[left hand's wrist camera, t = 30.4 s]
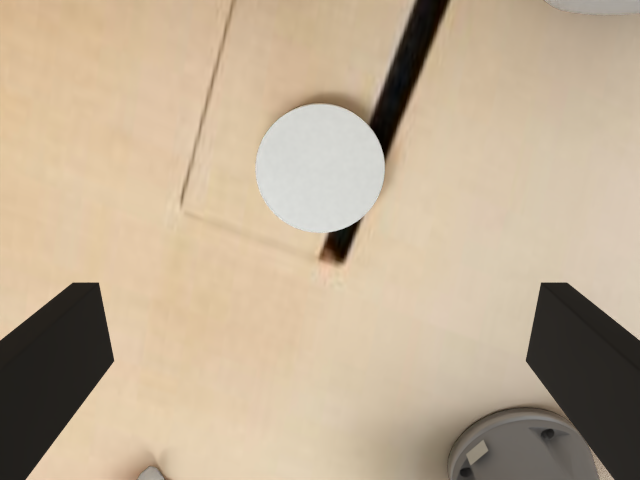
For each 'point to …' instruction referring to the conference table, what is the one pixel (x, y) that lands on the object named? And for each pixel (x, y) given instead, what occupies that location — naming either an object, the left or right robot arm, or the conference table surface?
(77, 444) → the conference table surface
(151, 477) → the red and white piece
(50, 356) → the left robot arm
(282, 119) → the lid
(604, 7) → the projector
